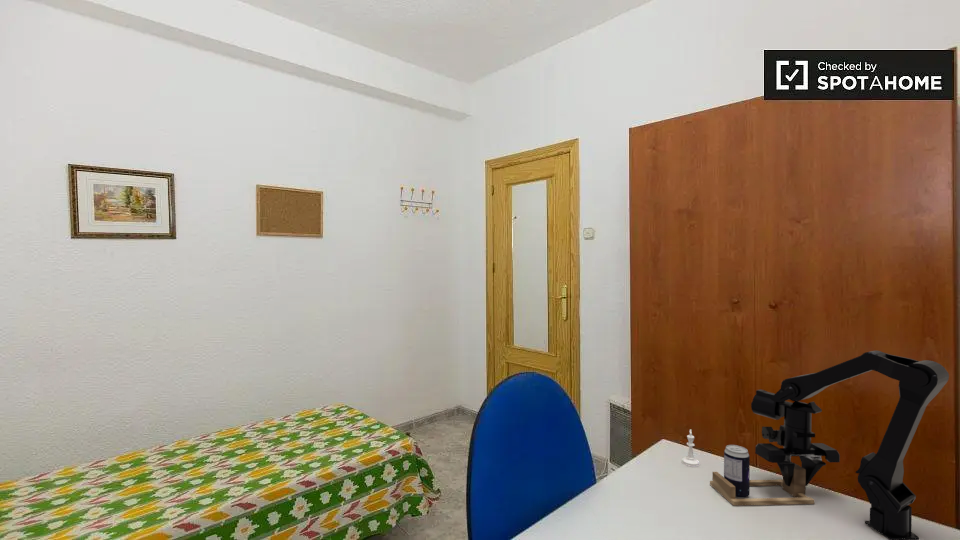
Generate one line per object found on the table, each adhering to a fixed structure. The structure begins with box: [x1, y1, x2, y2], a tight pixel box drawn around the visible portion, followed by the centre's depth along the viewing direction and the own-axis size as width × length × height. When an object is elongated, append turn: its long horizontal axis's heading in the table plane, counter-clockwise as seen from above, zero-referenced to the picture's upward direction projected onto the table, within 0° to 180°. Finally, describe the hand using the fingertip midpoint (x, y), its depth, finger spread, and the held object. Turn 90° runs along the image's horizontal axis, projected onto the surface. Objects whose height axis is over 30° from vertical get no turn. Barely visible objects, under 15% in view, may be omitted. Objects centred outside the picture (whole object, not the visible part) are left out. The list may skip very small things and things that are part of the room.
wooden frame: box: [709, 462, 815, 507], centre depth 113 cm, size 21×10×7 cm, turn 92°
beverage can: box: [723, 444, 751, 499], centre depth 113 cm, size 6×6×12 cm
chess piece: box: [681, 429, 701, 468], centre depth 132 cm, size 5×5×10 cm
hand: (796, 485), depth 114 cm, fingers open, 4 cm apart
